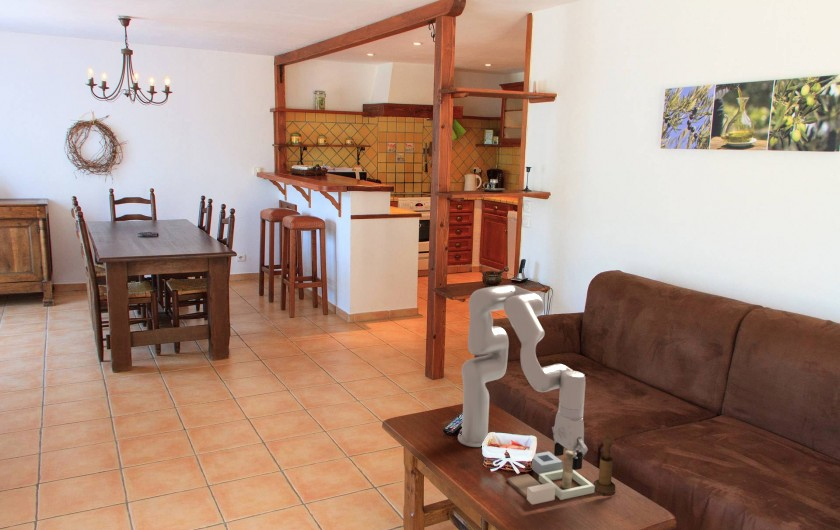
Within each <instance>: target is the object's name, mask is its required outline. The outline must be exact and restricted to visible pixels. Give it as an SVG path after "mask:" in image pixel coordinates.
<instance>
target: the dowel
mask: <svg viewBox="0 0 840 530" xmlns="http://www.w3.org/2000/svg"><path fill="white" fill-rule="evenodd" d="M563 457H564V458H563V464H562V469H563V475H562V478H561V484H560V485H561V486H560V487H561V489H563V490H566V489H570V488H572V482H573V481H572V480H573V479H572V474H573V469H572V463H573V457H574V454H573V451H569V450H565V451H564V454H563Z"/></svg>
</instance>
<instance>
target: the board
mask: <svg viewBox="0 0 840 530" xmlns="http://www.w3.org/2000/svg"><path fill="white" fill-rule="evenodd" d="M506 482H507V483H509V484H510V485H511V486H512V487H513V488H514V489H515V490H516V491H517V492H519V494H521V495H522V496H523V497H525V498H526V499H527V488H528V487H532V486H537V485H542V483H541V482H539V480H536V478H534V477H533V476H531V475H530V474H529V473H525V474H521V475H516V476H511V477H507V478H506Z"/></svg>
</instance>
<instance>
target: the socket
mask: <svg viewBox="0 0 840 530" xmlns="http://www.w3.org/2000/svg"><path fill="white" fill-rule="evenodd" d="M534 454H535V455H534V457H533V459H532V469H531V470H533V472H535V473H536V474H537V475H538V476H539V474H542V473H547V472H552V471H557V470H562V469H563V465H564V461H562V460H561V459H560V458H559V457H558V456H554V453H552V452H550V450H549V451H544V452H539V453H534Z"/></svg>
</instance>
